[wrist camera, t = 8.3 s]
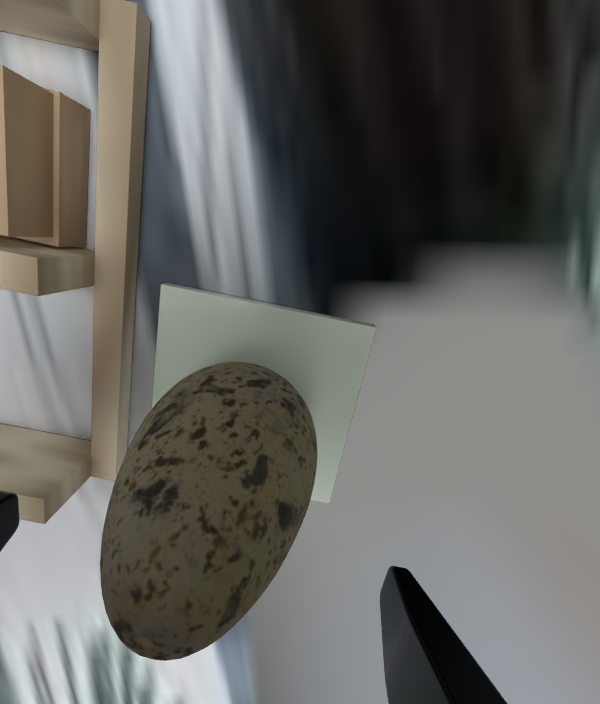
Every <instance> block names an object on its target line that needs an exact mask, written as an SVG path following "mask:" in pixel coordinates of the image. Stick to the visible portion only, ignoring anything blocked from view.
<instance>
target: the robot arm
mask: <svg viewBox="0 0 600 704" xmlns="http://www.w3.org/2000/svg"><path fill="white" fill-rule="evenodd" d="M18 525H19V501H18V496H17V495H16V494H15V493H11V492H6V491H0V551H1V550H2V549H3V547H4V546H5V545H6V543H7V542H8V541H9V539H10V538H11V537H12V535H13V534H14V533H15V531H16V529H17V527H18ZM380 610H381V626H382V641H383V657H384V670H385V681H386V688H387V696H388V702H389V704H507V702H506V701H505V700H504V698H502V696H501V694H500V693H499V692H498V690H497V689H496V688H495V686H494V685H493V684H492V682H491V681H490V679H489V678H488V677H487V675H486V674H485V673H484V672H483V670H482V669H481V667H480V666H479V665H478V663H477V662H476V660H475V659H474V658H473V656H472V655H471V654H470V652H469V651H468V650H467V649H466V647H465V646H464V644H463V643H462V642H461V640H460V639H459V637H458V636H457V635H456V633H455V632H454V631H453V629H452V628H451V627H450V625H449V624H448V623H447V621H446V620H445V619H444V617H443V616H442V615H441V613H440V612H439V610H438V609H437V608H436V606H435V605H434V604H433V602H432V601H431V600H430V598H429V597H428V595H427V594H426V593H425V592H424V591H423V589H422V587H421V586H420V585H419V584H418V582H417V581H416V579H415V578H414V577H413V575H412V574H411V572H410V571H409V570H407V569H406V568H401V567H396V566H391V567H390V568H389V570H388V572H387V575H386V577H385V580H384V583H383V586H382V589H381V593H380Z"/></svg>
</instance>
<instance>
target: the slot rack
mask: <svg viewBox="0 0 600 704" xmlns="http://www.w3.org/2000/svg"><path fill="white" fill-rule="evenodd" d="M150 26H151V21H150V20H149V19H148V17H147V16H146V15H145V13H144V12H143V11H142V9H141V8H140V7H139V5H138V4H137V3H134V2H129V1H124V0H0V31H4V32H9V33H14V34H18V35H23V36H28V37H32V38H37V39H42V40H46V41H51V42H56V43H60V44H65V45H70V46H75V47H79V48H84V49H89V50H93V51H98V52H99V73H98V124H97V174H96V225H95V251H92V250H87V249H82V248H77V247H57V246H52V245H48V244H43V243H39V242H34V241H30V240H25V239H21V238H16V237H8V236H4V235H0V289H5V290H10V291H15V292H20V293H25V294H30V295H35V296H41V295H47V294H52V293H57V292H62V291H67V290H72V289H78V288H83V287H88V286H93V285H94V326H93V377H92V427H91V441H89V440H83V439H78V438H73V437H68V436H63V435H58V434H52V433H47V432H42V431H37V430H32V429H26V428H21V427H16V426H11V425H6V424H1V423H0V491H6V492H11V493H15V494H16V495H17V496H18V501H19V519H21V520H27V521H32V522H37V523H43V524H45V523H46V522H47V521H48V520H49V519H50V518H51V517H52V516H53V515H54V514H55V513H56V512H57V511H58V510H59V508H60V507H61V506H62V505H63V504H64V503H65V502H66V501H67V500H68V499H69V498H70V497H71V496H72V495H73V494H74V493H75V492H76V491H77V490H78V489H79V488H80V487H81V486H82V485H83V484H84V483H85V481H86V480H87V479H88V478H89V477H90V476H92V477H97V478H102V479H108V480H113V481H116V478H117V475H118V473H119V470H120V467H121V465H122V462H123V460H124V458H125V455H126V453H127V443H128V425H129V406H130V388H131V370H132V352H133V334H134V316H135V298H136V280H137V262H138V244H139V226H140V207H141V189H142V171H143V153H144V135H145V117H146V99H147V81H148V63H149V45H150Z"/></svg>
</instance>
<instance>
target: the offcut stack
mask: <svg viewBox="0 0 600 704" xmlns="http://www.w3.org/2000/svg"><path fill="white" fill-rule="evenodd" d="M90 111H91V110H89V109H87V108H86V107H84V106H82V105H81V104H79V103H77V102H75V101H74V100H72V99H70V98H69V97H67V96H65V95H64V94H62V93H60V92H57V91H52V90H48V89H44V88H42V87H40V86H38V85H36V84H35V83H33V82H31V81H29V80H28V79H26V78H24V77H22V76H20V75H19V74H17V73H15V72H13V71H12V70H10V69H8V68H6V67H5V66H3V65H0V235H4V236H8V237H16V238H21V239H25V240H30V241H34V242H39V243H43V244H48V245H52V246H57V247H80V246H86V245H87V211H88V178H89V144H90Z"/></svg>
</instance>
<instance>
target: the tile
mask: <svg viewBox="0 0 600 704" xmlns="http://www.w3.org/2000/svg"><path fill="white" fill-rule="evenodd" d="M375 331H376V326H375V325H374V324H369V323H364V322H359V321H354V320H349V319H344V318H340V317H335V316H330V315H325V314H320V313H315V312H310V311H305V310H300V309H295V308H290V307H285V306H280V305H275V304H270V303H265V302H260V301H255V300H250V299H246V298H241V297H236V296H231V295H226V294H221V293H216V292H211V291H206V290H201V289H196V288H191V287H186V286H181V285H176V284H171V283H164V284H161V292H160V305H159V318H158V331H157V344H156V358H155V371H154V384H153V397H152V408H153V407H154V406H155V404H156V403H157V402H158V401H159V400H160V399H161V397H162V396H163V395H164V394H165V393H166V392H167V391H169V390H170V389H171V388H172V387H173V386H174V385H175V384H177V383H178V382H179V381H181V380H182V379H183V378H185V377H187V376H188V375H190V374H192V373H194V372H195V371H198V370H200V369H202V368H205V367H208V366H211V365H215V364H219V363H226V362H247V363H252V364H257V365H260V366H263V367H266V368H268V369H270V370H272V371H274V372H276V373H278V374H279V375H280V376H282V377H283V378H285V379H286V380H287V381H288V382H289V383H290V384H291V385H292V386H293V387H294V388H295V389H296V390H297V391H298V393H299V394H300V395H301V397H302V398H303V400H304V402H305V403H306V405H307V407H308V409H309V412H310V414H311V417H312V420H313V423H314V427H315V432H316V439H317V469H316V476H315V482H314V487H313V491H312V495H311V499H310V500H312V501H317V502H322V503H327V504H329V503H330V499H331V495H332V491H333V488H334V484H335V480H336V477H337V473H338V469H339V465H340V461H341V458H342V454H343V450H344V447H345V443H346V439H347V435H348V432H349V428H350V424H351V420H352V417H353V413H354V409H355V406H356V402H357V398H358V395H359V391H360V387H361V383H362V379H363V376H364V372H365V369H366V365H367V361H368V357H369V354H370V350H371V346H372V342H373V339H374V335H375Z"/></svg>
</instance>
